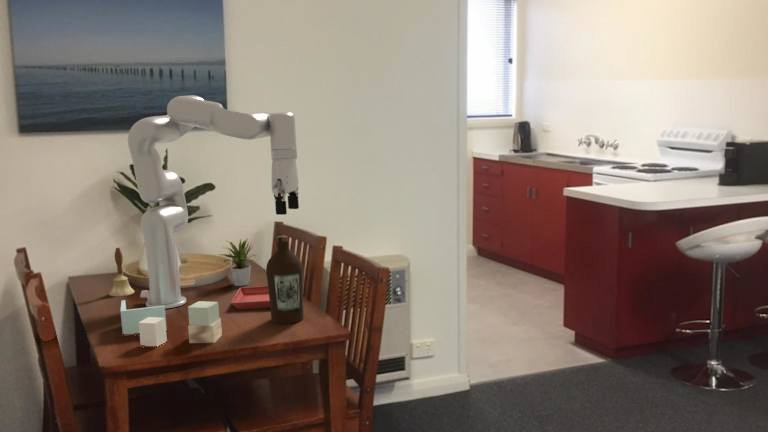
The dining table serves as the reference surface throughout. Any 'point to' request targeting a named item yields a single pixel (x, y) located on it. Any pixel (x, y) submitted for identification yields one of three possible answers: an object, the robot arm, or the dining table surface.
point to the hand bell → (120, 278)
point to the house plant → (239, 263)
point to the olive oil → (285, 284)
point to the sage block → (203, 313)
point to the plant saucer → (252, 298)
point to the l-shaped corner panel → (138, 317)
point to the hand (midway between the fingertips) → (287, 211)
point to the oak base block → (205, 333)
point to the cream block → (152, 331)
